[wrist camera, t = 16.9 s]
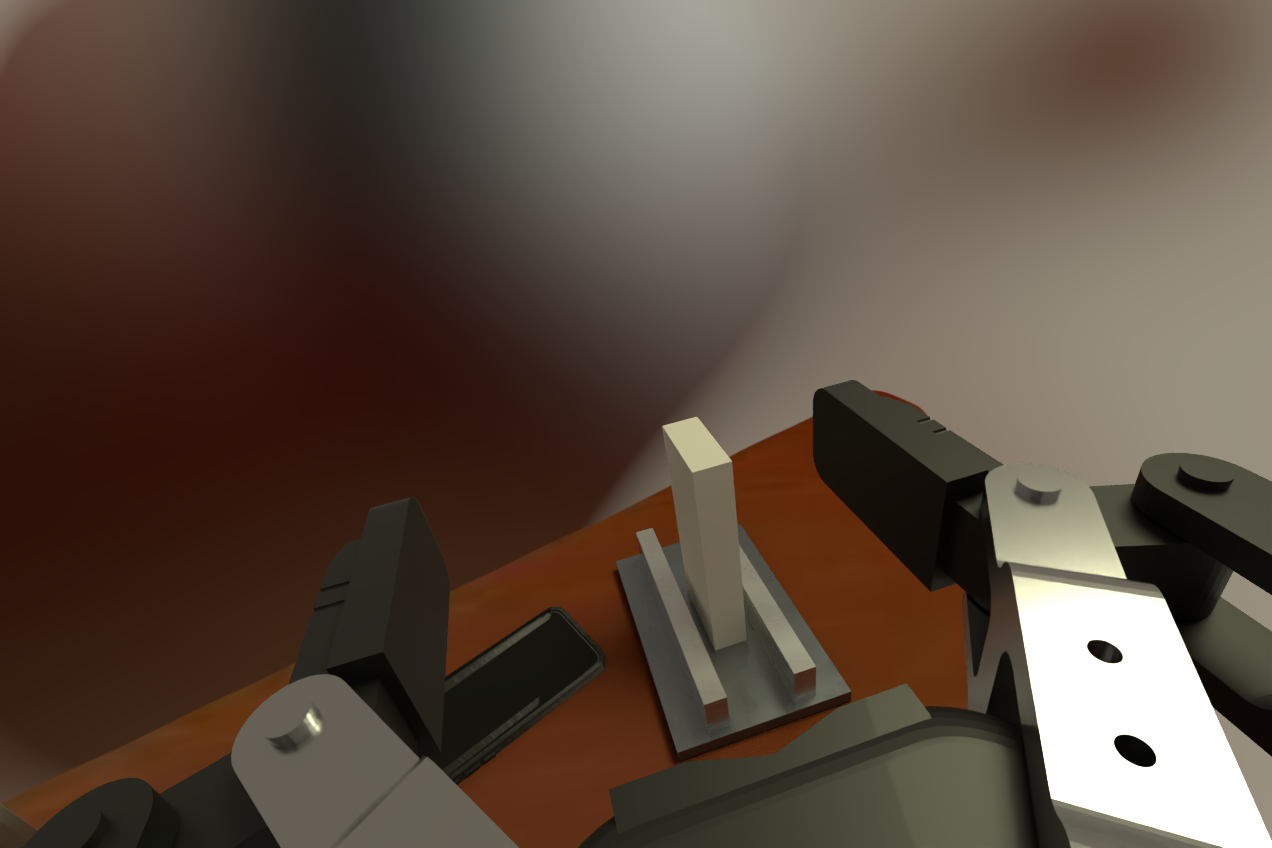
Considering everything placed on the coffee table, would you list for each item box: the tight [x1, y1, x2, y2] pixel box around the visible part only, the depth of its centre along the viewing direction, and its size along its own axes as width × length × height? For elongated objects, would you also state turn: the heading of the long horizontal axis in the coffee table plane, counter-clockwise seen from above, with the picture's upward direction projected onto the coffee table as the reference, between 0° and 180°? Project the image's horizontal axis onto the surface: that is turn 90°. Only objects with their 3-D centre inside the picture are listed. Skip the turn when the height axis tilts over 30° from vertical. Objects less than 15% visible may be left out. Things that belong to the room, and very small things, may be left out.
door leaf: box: [662, 417, 747, 651], centre depth 40 cm, size 3×6×16 cm, turn 15°
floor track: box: [616, 525, 851, 762], centre depth 43 cm, size 12×18×4 cm, turn 14°
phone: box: [428, 607, 606, 785], centre depth 42 cm, size 8×1×15 cm
